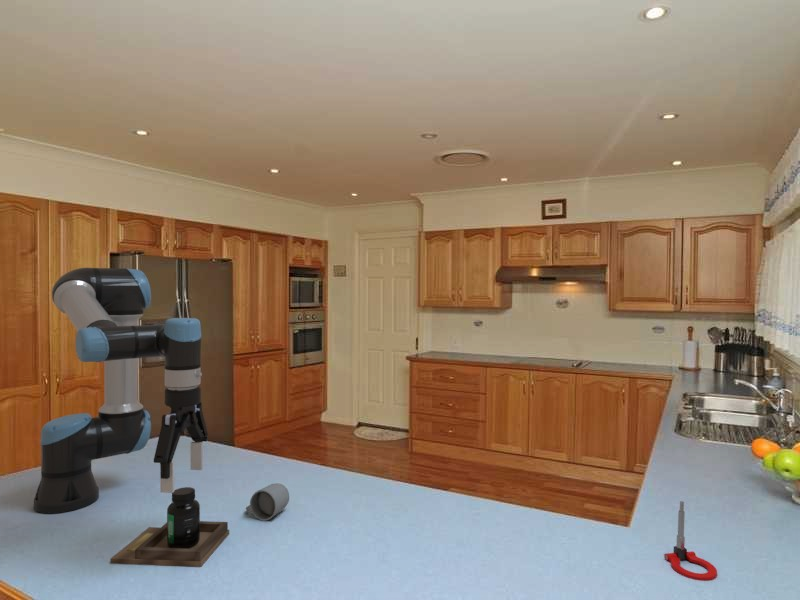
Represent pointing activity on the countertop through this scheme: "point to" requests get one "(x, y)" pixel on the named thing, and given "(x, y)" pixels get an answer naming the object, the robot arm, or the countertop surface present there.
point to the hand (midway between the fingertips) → (182, 480)
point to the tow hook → (688, 554)
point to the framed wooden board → (156, 551)
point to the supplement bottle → (183, 519)
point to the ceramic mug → (268, 501)
